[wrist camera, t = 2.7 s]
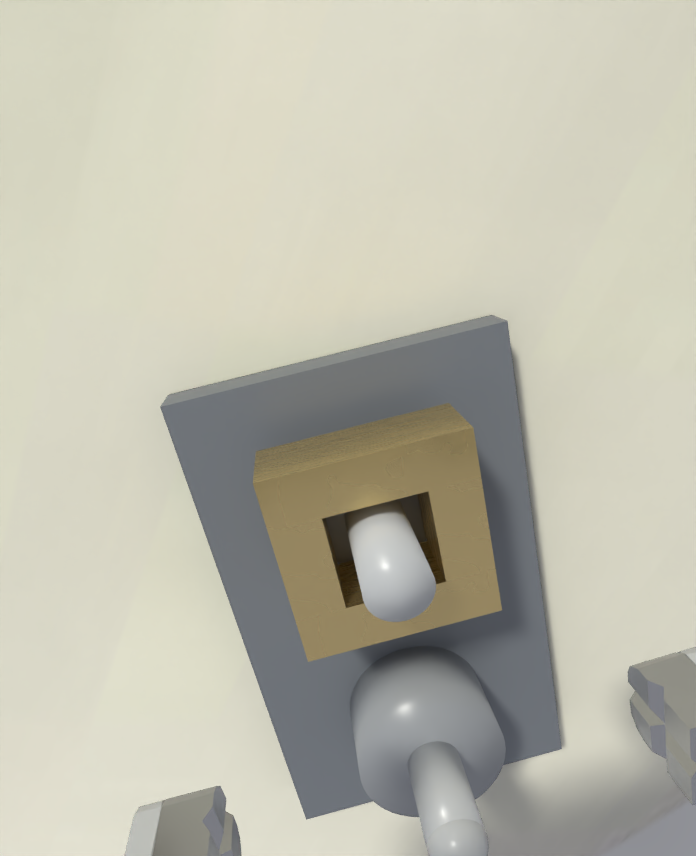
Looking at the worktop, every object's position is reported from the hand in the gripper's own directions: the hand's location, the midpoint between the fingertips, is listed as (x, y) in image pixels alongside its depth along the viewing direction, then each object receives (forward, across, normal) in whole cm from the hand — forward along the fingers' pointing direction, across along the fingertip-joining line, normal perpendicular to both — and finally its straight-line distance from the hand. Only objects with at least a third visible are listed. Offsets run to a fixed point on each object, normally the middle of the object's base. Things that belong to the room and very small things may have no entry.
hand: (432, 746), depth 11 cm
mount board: (+12, 0, +5) cm, 13 cm away
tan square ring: (+9, 0, 0) cm, 9 cm away
